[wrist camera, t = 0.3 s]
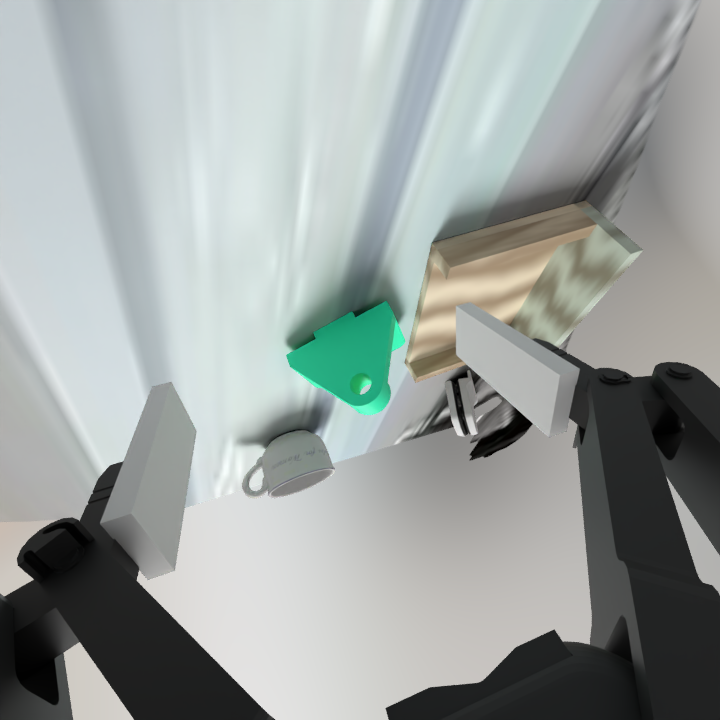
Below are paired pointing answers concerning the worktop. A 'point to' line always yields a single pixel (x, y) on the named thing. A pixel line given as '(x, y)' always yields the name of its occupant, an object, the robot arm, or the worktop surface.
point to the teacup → (291, 465)
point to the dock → (517, 280)
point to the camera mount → (352, 358)
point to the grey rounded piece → (462, 405)
